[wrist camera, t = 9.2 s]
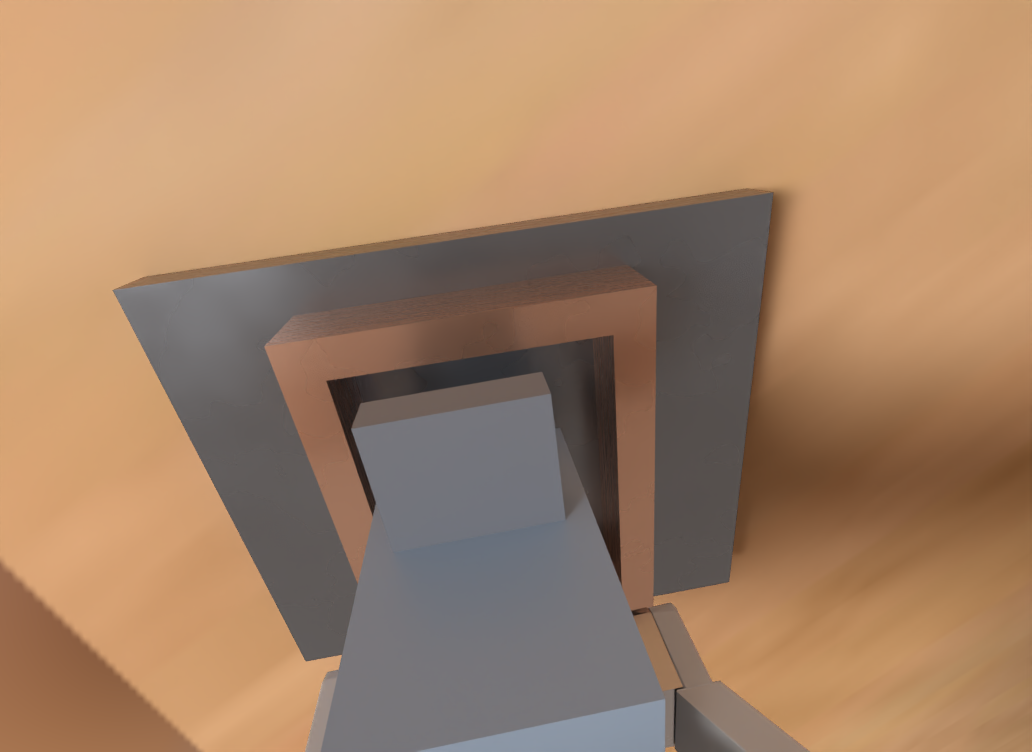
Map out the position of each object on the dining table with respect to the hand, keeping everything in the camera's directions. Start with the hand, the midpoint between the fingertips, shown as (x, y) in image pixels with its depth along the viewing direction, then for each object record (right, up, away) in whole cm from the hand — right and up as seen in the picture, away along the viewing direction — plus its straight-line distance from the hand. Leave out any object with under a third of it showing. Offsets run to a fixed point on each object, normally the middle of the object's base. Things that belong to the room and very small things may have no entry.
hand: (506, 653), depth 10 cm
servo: (0, +1, +2) cm, 3 cm away
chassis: (-1, +3, +6) cm, 7 cm away
